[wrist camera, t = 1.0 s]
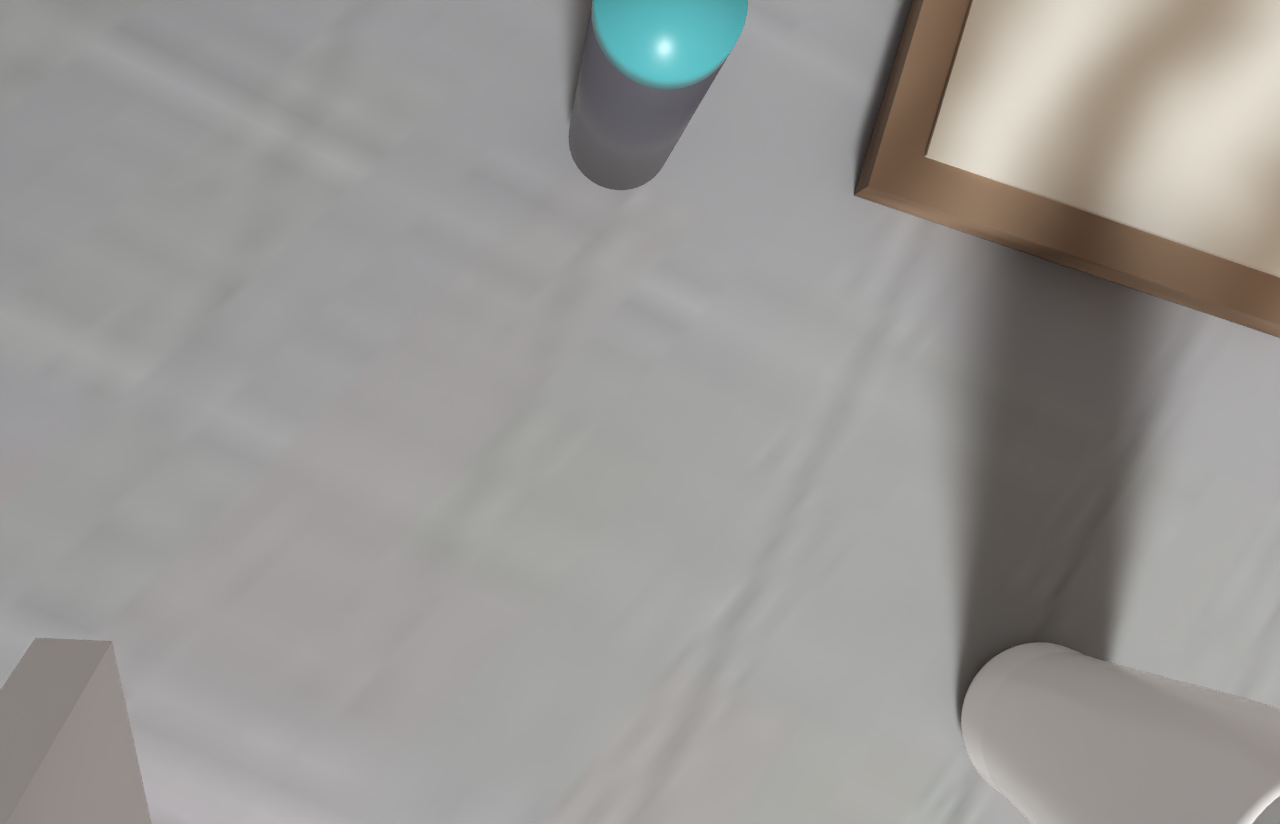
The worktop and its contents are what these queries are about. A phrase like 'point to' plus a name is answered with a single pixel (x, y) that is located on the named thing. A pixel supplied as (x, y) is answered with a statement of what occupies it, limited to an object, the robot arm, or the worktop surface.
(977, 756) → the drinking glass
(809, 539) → the worktop surface
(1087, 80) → the writing board
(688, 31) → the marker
